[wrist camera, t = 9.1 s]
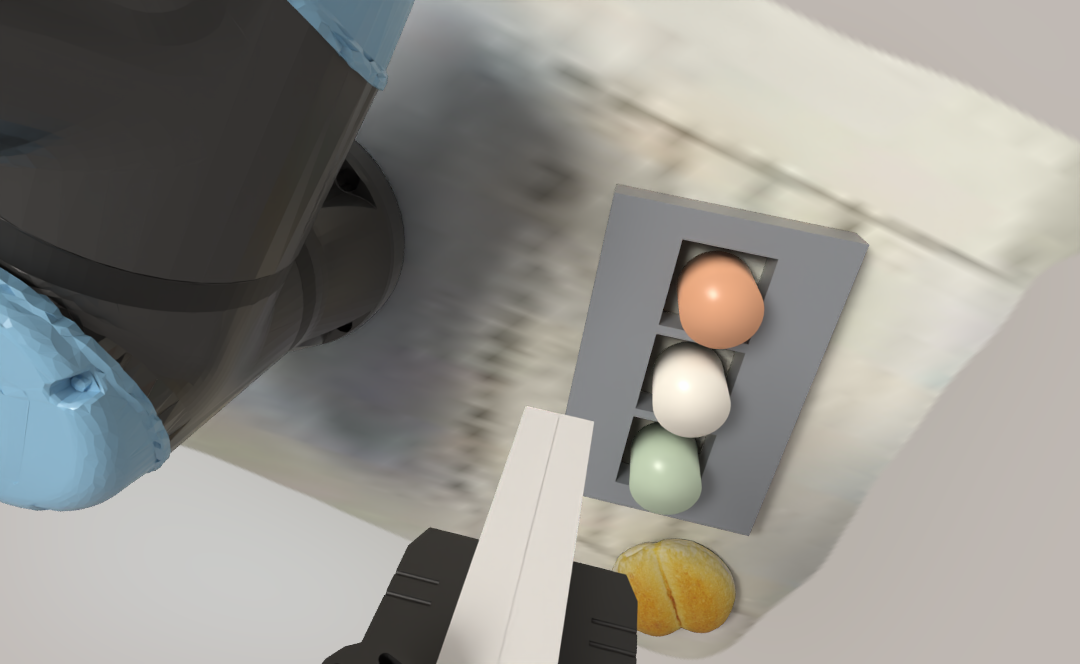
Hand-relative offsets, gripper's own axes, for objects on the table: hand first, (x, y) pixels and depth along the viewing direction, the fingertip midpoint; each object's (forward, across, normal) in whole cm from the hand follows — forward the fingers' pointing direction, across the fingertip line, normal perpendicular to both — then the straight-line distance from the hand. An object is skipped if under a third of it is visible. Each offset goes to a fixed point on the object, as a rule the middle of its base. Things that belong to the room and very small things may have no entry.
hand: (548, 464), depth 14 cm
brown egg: (+25, +7, -4) cm, 26 cm away
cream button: (+25, +7, -9) cm, 28 cm away
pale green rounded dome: (+25, +7, -16) cm, 30 cm away
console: (+26, +7, -10) cm, 29 cm away
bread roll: (+27, +11, -28) cm, 40 cm away
